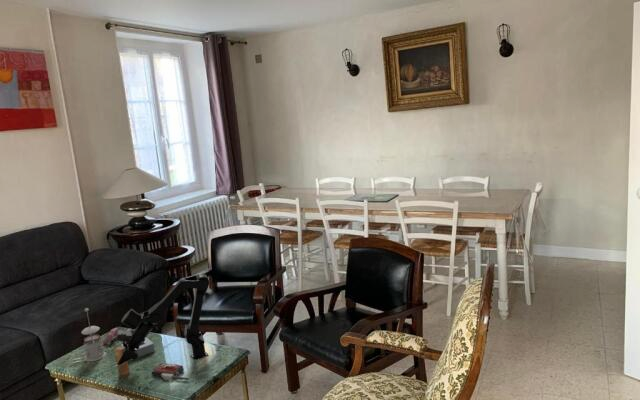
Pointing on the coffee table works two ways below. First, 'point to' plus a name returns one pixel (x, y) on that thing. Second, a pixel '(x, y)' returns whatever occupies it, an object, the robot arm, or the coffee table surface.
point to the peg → (122, 368)
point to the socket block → (144, 348)
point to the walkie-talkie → (169, 371)
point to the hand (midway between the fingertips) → (118, 362)
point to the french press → (94, 349)
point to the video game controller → (111, 336)
